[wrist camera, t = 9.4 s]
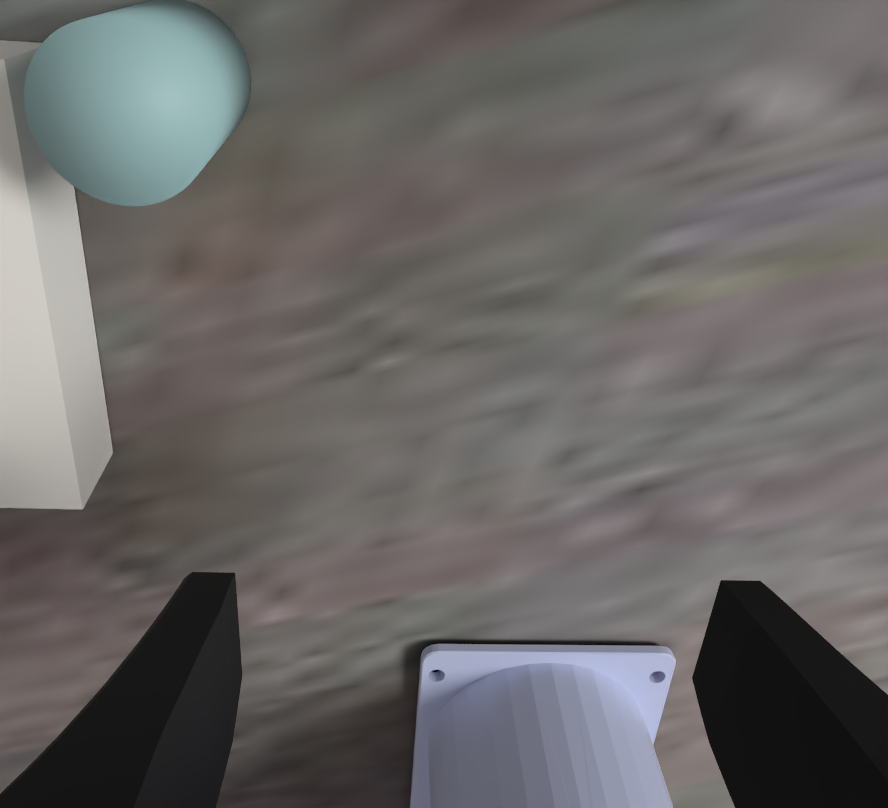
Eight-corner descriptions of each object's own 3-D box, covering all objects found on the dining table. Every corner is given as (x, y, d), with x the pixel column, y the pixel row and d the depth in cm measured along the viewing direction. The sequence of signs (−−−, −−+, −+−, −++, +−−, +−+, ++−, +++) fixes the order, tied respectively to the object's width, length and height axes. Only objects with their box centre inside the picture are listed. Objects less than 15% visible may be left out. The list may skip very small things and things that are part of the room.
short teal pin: (253, 152, 19) (217, 209, 15) (115, 145, 18) (40, 202, 14) (247, 3, 17) (205, 23, 13) (96, -8, 17) (7, 10, 13)
